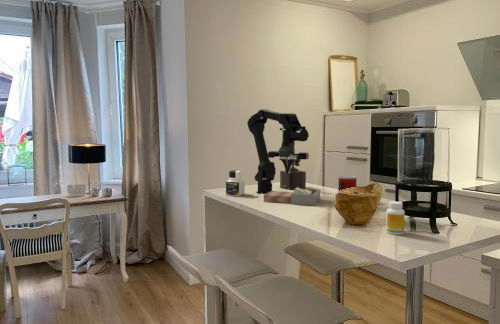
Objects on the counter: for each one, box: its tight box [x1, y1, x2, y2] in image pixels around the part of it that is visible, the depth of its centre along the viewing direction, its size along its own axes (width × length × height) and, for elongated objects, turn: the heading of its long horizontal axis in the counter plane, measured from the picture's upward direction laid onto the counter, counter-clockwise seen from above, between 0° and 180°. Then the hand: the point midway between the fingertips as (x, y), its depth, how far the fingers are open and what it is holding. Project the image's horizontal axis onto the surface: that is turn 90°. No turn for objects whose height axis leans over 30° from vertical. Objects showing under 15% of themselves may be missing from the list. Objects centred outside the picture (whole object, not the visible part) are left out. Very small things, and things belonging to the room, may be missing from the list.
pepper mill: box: [279, 157, 307, 191], centre depth 210 cm, size 16×11×18 cm
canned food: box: [337, 174, 357, 193], centre depth 177 cm, size 8×8×11 cm
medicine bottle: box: [225, 169, 246, 197], centre depth 193 cm, size 7×7×12 cm
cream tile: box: [303, 188, 312, 195], centre depth 174 cm, size 4×4×3 cm
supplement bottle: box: [385, 200, 406, 236], centre depth 123 cm, size 5×5×10 cm
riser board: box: [263, 190, 294, 204], centre depth 178 cm, size 13×12×3 cm
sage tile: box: [293, 187, 304, 194], centre depth 175 cm, size 4×4×3 cm
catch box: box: [290, 188, 321, 206], centre depth 174 cm, size 10×15×4 cm, turn 160°
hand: (287, 173), depth 184 cm, fingers closed
